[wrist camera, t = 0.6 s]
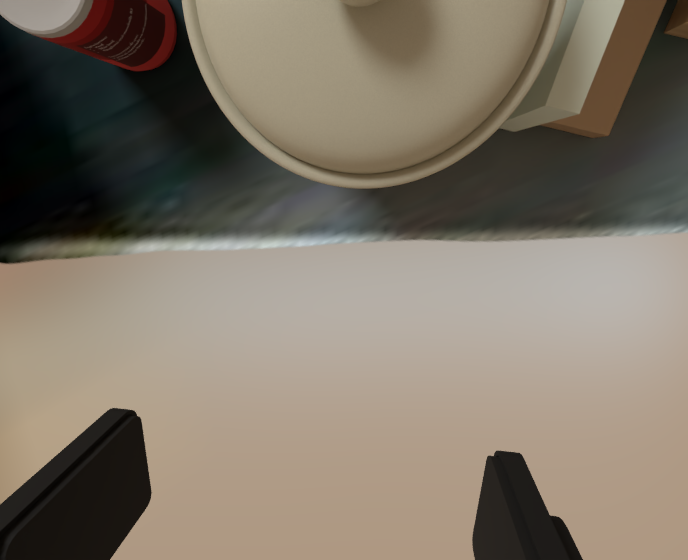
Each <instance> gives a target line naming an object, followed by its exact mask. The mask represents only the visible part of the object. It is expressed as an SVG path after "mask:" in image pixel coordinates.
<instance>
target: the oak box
mask: <svg viewBox="0 0 688 560" xmlns="http://www.w3.org/2000/svg"><path fill="white" fill-rule="evenodd" d="M664 33H665V34H669V35H673V36H677V37H682V38H686V39H688V0H678V2H677V4H676V6H675V8H674V11H673V13H672V15H671V18H670V20H669V22H668V24H667V27H666V29H665V31H664Z"/></svg>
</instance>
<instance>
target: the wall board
mask: <svg viewBox="0 0 688 560" xmlns="http://www.w3.org/2000/svg"><path fill="white" fill-rule="evenodd" d="M666 1H667V0H567V3H566V7H565V11H564V14H563V18H562V21H561V24H560V27H559V30H558V33H557V36H556V39H555V41H554V44H553V46H552V49H551V51H550V53H549V55H548V58H547V60H546V62H545V64H544V66H543V68H542V70H541V71H540V73H539V75H538V77H537V79H536V80H535V82H534V84H533V85H532V87H531V88H530V90H529V92H528V93H527V94H526V96H525V97H524V99H523V100H522V102H521V103H520V104H519V106H518V107H517V108H516V109H515V111H514V112H513V113H512V114H511V115H510V117H509V118H508V119H507V120H506V121H505V122H504V123H503V124H502V125H501V127H500V129H505V130H509V131H513V132H516V131H519V130H523V129H527V128H530V127H534V126H538V125H541V126H545V127H549V128H553V129H558V130H562V131H566V132H570V133H574V134H578V135H582V136H586V137H590V138H597V137H604V136H609V134H610V131H611V129H612V127H613V124H614V122H615V120H616V117H617V115H618V113H619V110H620V108H621V106H622V103H623V101H624V99H625V96H626V94H627V92H628V89H629V87H630V85H631V82H632V80H633V78H634V75H635V73H636V71H637V68H638V66H639V64H640V61H641V59H642V57H643V54H644V52H645V50H646V47H647V45H648V43H649V40H650V38H651V36H652V33H653V31H654V29H655V26H656V24H657V22H658V19H659V17H660V15H661V13H662V10H663V8H664V6H665V3H666Z"/></svg>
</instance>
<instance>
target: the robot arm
mask: <svg viewBox="0 0 688 560" xmlns="http://www.w3.org/2000/svg"><path fill="white" fill-rule="evenodd" d="M145 451H146V450H145V443H144V436H143V429H142V422H141V419H140V417H138V416H137V414H136V412H135V411H133V410H127V409H118V408H112V409H110V410H108V411H107V412H106V413H104V414H103V415H102V416H101V417H100V418H99V419H98V420H96V422H94V423H93V424H92V425H91V426H90V427H88V428H87V429H86V430H85V431H84V432H83V433H82V434H81V435H79V436H78V437H77V438H76V439H75V440H74V441H72V442H71V443H70V444H69V445H68V446H67V447H66V448H64V449H63V450H62V451H61V452H60V453H59V454H58V455H56V456H55V457H54V458H53V459H52V460H51V461H50V462H49V463H47V464H46V465H45V466H44V467H43V468H42V469H41V470H39V471H38V472H37V473H36V474H35V475H34V476H32V477H31V478H30V479H29V480H28V481H27V482H26V483H24V484H23V485H22V486H21V487H20V488H19V489H18V490H16V491H15V492H14V493H13V494H12V495H11V496H10V497H8V498H7V499H6V500H5V501H4V502H3V503H2V504H1V505H0V560H110V559H111V557H112V556H113V554H114V553H115V552H116V550H117V549H118V547H119V546H120V545H121V543H122V542H123V540H124V539H125V537H126V536H127V535H128V533H129V532H130V530H131V529H132V527H133V526H134V525H135V523H136V522H137V520H138V519H139V518H140V516H141V515H142V513H143V512H144V511H145V509H146V507H147V506H148V504H149V502H150V499H151V486H150V479H149V472H148V464H147V457H146V452H145ZM473 551H474V557H475V560H583V559H582V557H581V555H580V553H579V551H578V549H577V547H576V545H575V543H574V541H573V539H572V537H571V535H570V532H569V530H568V528H567V527H566V525H565V523H564V522H563V520H562V519H561V518H559V517H556V516H550V515H549V513H548V511H547V509H546V506H545V504H544V502H543V500H542V498H541V495H540V493H539V491H538V489H537V486H536V484H535V482H534V480H533V478H532V476H531V473H530V471H529V469H528V467H527V465H526V462H525V460H524V458H523V456H522V455H521V454H520V453H515V452H505V451H496V452H495V454H494V456H488V457H487V460H486V466H485V471H484V477H483V482H482V487H481V493H480V498H479V504H478V509H477V514H476V520H475V525H474V531H473Z"/></svg>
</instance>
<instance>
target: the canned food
mask: <svg viewBox="0 0 688 560" xmlns="http://www.w3.org/2000/svg"><path fill="white" fill-rule="evenodd" d="M0 14H1V16H2V17H4V18H5V19H6V20H8V21H9V22H10V23H11V24H13V25H15V26H16V27H18V28H20V29H22V30H24V31H26V32H28V33H30V34H32V35H35V36H38V37H40V38H43V39H45V40H48V41H50V42H53V43H56V44H59V45H61V46H64V47H67V48H70V49H72V50H75V51H78V52H81V53H83V54H86V55H89V56H92V57H94V58H97V59H100V60H103V61H105V62H108V63H111V64H114V65H116V66H119V67H122V68H125V69H128V70H131V71H145V70H152V69H154V68H157V67H159V66H160V65H162V64H163V63H165V61H166V60H167V59H168V58H169V57H170V55H171V53H172V52H173V49H174V46H175V43H176V37H177V26H176V20H175V16H174V13H173V11H172V8H171V6H170V4H169V2H168V1H167V0H0Z"/></svg>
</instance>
